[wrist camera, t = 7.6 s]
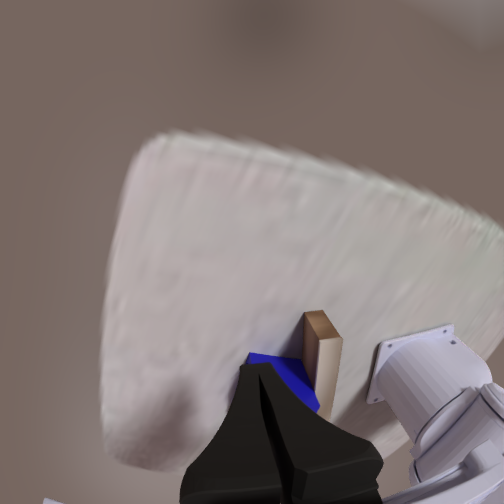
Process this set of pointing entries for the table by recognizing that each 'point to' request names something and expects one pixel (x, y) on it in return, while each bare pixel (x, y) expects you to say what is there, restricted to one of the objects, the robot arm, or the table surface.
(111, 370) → the table surface
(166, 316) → the table surface
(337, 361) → the bar
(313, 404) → the cable clip
